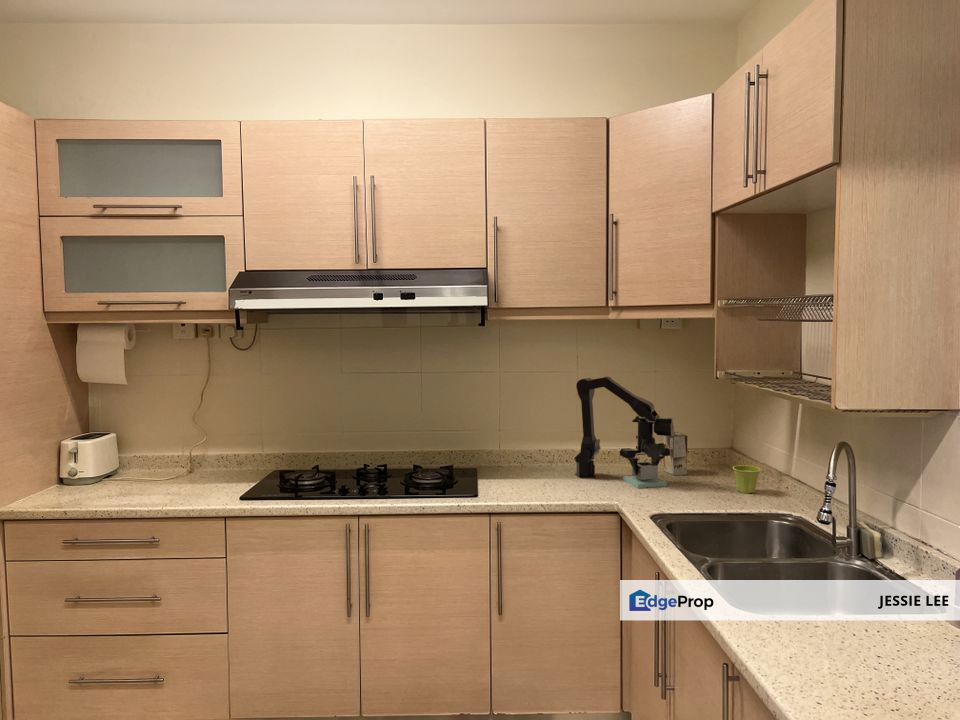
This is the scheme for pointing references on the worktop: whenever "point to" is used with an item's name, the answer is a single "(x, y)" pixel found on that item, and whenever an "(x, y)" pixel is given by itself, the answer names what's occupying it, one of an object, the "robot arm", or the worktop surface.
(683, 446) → the coffee box
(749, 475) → the plant pot
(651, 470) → the link
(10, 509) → the worktop surface
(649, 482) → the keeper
